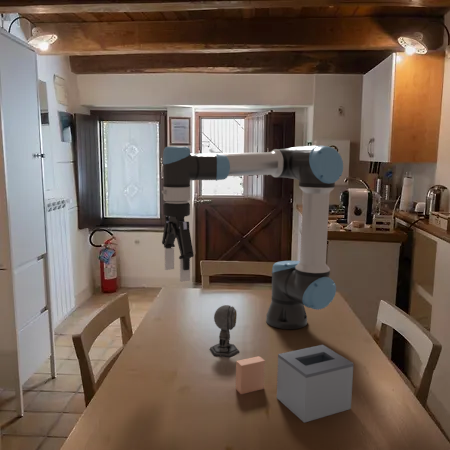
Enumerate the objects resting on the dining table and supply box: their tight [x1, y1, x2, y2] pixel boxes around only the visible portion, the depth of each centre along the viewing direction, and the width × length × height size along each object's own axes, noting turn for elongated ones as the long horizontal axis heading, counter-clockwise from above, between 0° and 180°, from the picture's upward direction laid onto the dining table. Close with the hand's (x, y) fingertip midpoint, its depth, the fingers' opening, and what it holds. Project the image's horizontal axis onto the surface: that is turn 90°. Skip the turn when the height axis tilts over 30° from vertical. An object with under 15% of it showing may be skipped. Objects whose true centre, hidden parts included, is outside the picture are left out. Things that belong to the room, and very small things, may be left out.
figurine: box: [209, 304, 240, 358], centre depth 144 cm, size 9×10×15 cm
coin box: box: [276, 344, 354, 423], centre depth 115 cm, size 14×12×12 cm
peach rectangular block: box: [235, 355, 266, 395], centre depth 122 cm, size 7×3×8 cm, turn 116°
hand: (176, 274), depth 133 cm, fingers open, 13 cm apart
